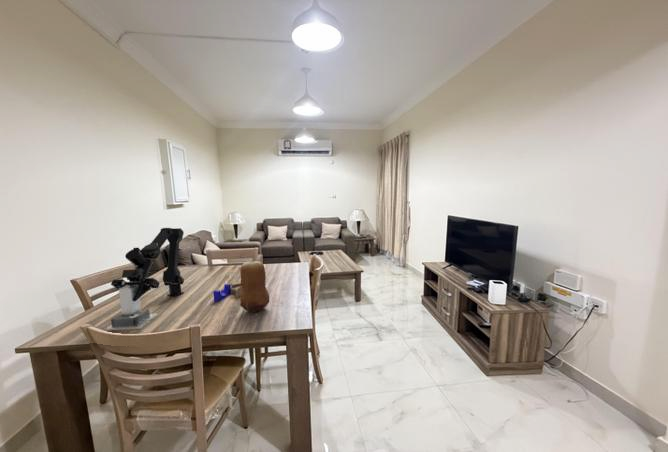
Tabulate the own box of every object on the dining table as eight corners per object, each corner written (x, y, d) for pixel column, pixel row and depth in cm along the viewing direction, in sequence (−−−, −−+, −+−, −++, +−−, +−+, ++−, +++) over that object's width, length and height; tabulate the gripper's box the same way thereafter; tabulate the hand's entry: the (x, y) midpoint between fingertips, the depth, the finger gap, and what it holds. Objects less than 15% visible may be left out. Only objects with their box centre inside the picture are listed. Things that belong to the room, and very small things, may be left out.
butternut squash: (261, 302, 140) (258, 256, 138) (274, 310, 131) (272, 261, 128) (236, 311, 131) (232, 262, 128) (248, 319, 121) (245, 266, 118)
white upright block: (130, 311, 122) (127, 284, 121) (141, 311, 122) (138, 284, 121) (122, 316, 117) (118, 288, 116) (133, 316, 117) (130, 288, 116)
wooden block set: (229, 281, 161) (258, 276, 170) (229, 290, 162) (259, 285, 170) (233, 289, 146) (265, 283, 155) (234, 299, 147) (266, 293, 156)
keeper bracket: (128, 316, 127) (127, 307, 126) (157, 315, 127) (157, 306, 127) (106, 330, 114) (105, 320, 113) (139, 328, 115) (138, 319, 114)
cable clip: (224, 293, 156) (223, 283, 155) (231, 293, 155) (230, 284, 154) (211, 301, 144) (210, 291, 143) (219, 302, 143) (218, 291, 142)
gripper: (111, 262, 121) (93, 294, 111) (153, 261, 121) (139, 292, 112) (125, 274, 129) (110, 304, 120) (164, 272, 130) (153, 303, 121)
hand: (128, 301), depth 118 cm, fingers closed on white upright block, 5 cm apart
